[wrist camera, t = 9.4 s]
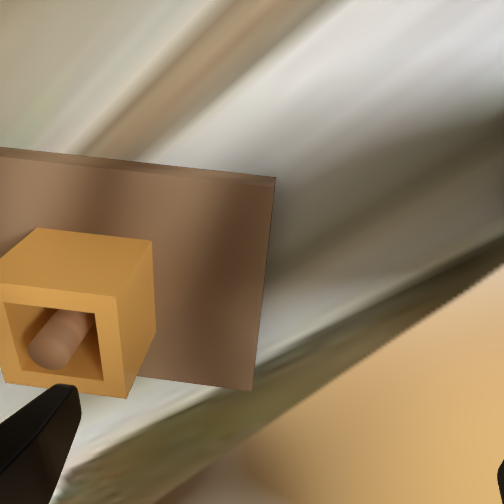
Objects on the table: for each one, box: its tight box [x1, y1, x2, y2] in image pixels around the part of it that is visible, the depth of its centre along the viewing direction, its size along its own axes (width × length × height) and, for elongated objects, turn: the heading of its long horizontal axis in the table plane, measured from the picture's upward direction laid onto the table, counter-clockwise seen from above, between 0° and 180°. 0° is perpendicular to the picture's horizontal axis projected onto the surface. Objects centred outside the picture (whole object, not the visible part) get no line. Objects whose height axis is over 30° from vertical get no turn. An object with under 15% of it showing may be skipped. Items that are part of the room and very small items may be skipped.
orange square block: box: [0, 228, 156, 399], centre depth 19 cm, size 5×5×4 cm
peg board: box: [0, 147, 276, 391], centre depth 20 cm, size 16×12×6 cm
